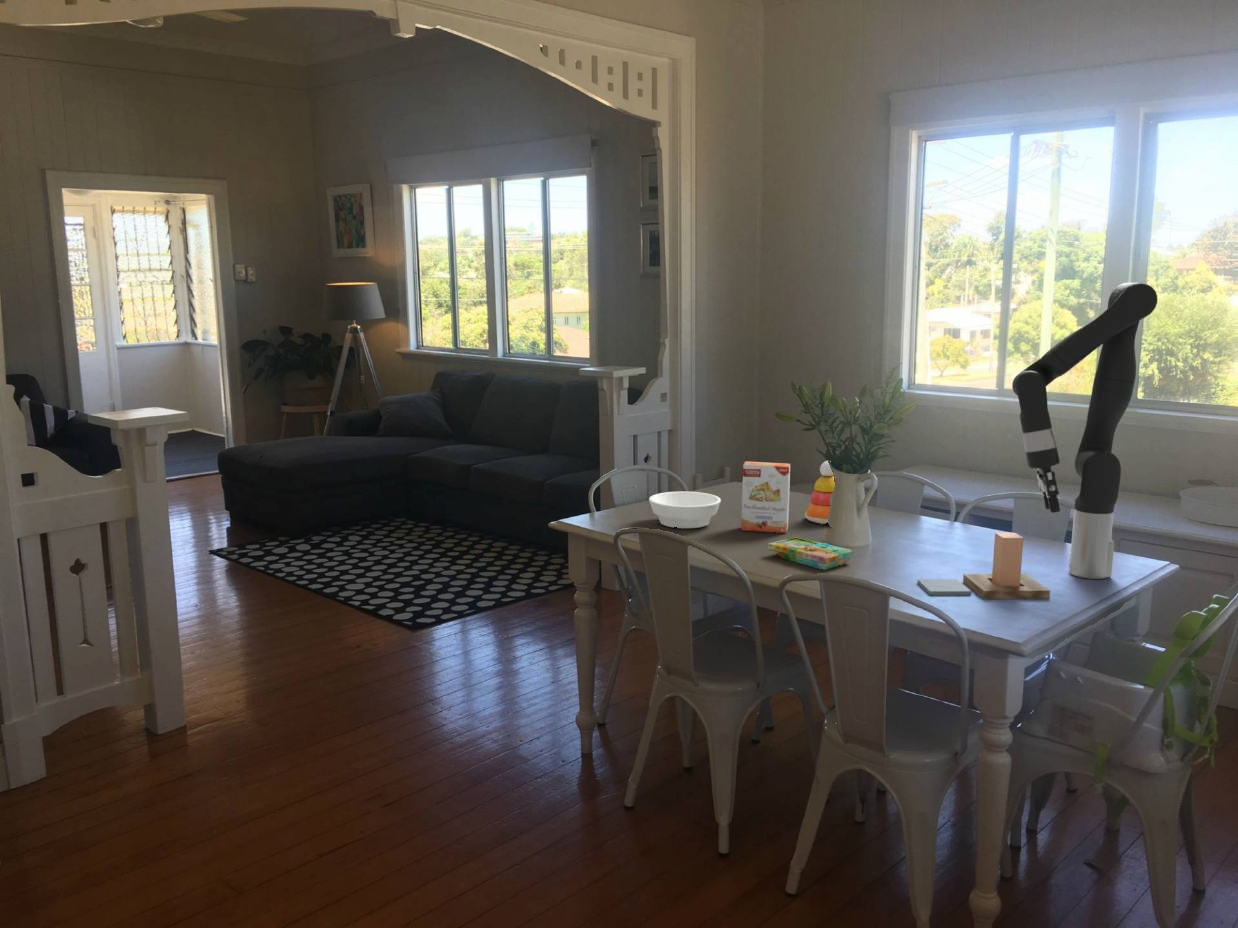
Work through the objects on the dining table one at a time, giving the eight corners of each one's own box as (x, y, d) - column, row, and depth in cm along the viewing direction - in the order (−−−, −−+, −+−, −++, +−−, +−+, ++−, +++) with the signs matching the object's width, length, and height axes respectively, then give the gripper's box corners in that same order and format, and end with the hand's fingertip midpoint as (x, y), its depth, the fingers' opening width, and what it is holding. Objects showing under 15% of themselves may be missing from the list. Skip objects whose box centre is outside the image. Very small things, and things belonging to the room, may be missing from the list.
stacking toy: (838, 514, 329) (841, 456, 325) (858, 525, 315) (860, 464, 312) (797, 516, 326) (800, 457, 322) (815, 527, 312) (817, 465, 309)
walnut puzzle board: (1025, 581, 256) (1026, 573, 256) (1049, 598, 243) (1050, 590, 242) (963, 581, 256) (963, 574, 256) (983, 598, 242) (984, 590, 242)
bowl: (717, 516, 327) (718, 491, 325) (723, 533, 305) (723, 506, 303) (648, 516, 327) (648, 491, 326) (649, 533, 305) (649, 506, 304)
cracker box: (740, 531, 307) (742, 464, 303) (743, 526, 313) (744, 460, 309) (787, 534, 304) (789, 466, 300) (788, 529, 310) (790, 462, 306)
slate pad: (956, 582, 255) (956, 579, 255) (970, 595, 245) (971, 591, 245) (917, 583, 255) (917, 579, 255) (930, 595, 245) (930, 591, 245)
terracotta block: (1011, 586, 252) (1015, 532, 249) (1019, 593, 247) (1023, 537, 244) (991, 587, 252) (995, 532, 249) (999, 593, 247) (1003, 537, 244)
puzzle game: (825, 555, 264) (767, 540, 279) (824, 572, 265) (767, 556, 280) (852, 547, 271) (795, 533, 286) (852, 564, 272) (794, 549, 287)
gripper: (1060, 446, 248) (1073, 510, 248) (1052, 444, 262) (1064, 505, 262) (1028, 452, 250) (1041, 516, 251) (1021, 449, 264) (1033, 510, 264)
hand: (1052, 510), depth 256 cm, fingers open, 8 cm apart
